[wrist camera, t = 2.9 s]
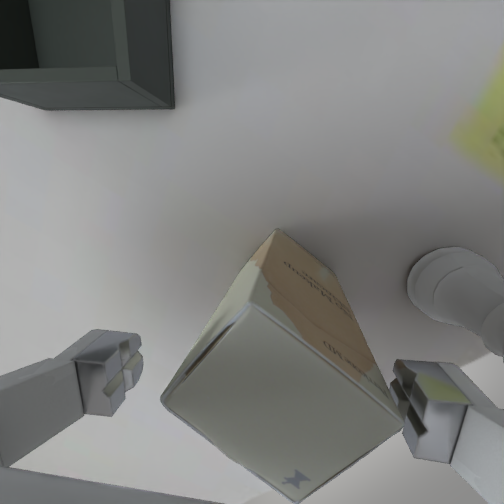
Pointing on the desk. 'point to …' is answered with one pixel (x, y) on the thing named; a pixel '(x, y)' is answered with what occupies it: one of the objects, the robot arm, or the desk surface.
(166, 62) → the divided tray
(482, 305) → the rook chess piece
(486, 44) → the desk surface
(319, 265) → the box
